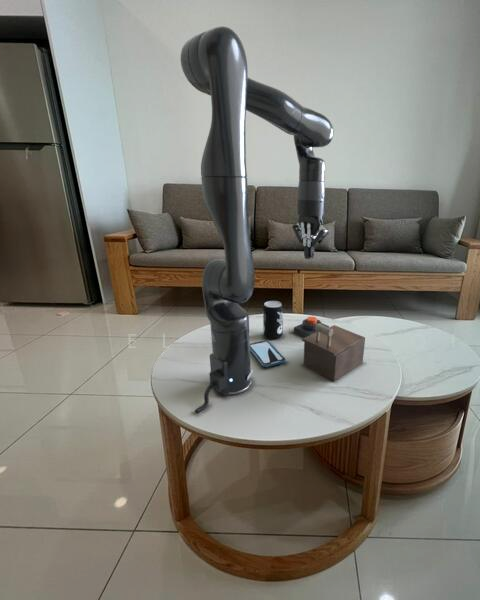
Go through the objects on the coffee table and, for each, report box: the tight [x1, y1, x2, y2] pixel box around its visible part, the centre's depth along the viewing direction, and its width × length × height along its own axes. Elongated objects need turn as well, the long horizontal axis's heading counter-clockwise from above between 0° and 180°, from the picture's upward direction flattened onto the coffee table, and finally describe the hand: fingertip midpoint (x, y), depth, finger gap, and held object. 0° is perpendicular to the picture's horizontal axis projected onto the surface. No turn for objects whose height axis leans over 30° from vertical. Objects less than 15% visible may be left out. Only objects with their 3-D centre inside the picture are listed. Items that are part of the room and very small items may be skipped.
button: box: [306, 316, 318, 325], centre depth 114 cm, size 4×4×2 cm
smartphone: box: [250, 339, 287, 368], centre depth 99 cm, size 7×1×15 cm
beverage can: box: [262, 300, 284, 340], centre depth 109 cm, size 7×7×12 cm
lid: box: [301, 324, 366, 356], centre depth 91 cm, size 14×12×6 cm
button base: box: [293, 318, 330, 338], centre depth 114 cm, size 10×8×4 cm
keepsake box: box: [303, 339, 366, 382], centre depth 94 cm, size 14×12×8 cm
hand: (309, 258), depth 96 cm, fingers closed
